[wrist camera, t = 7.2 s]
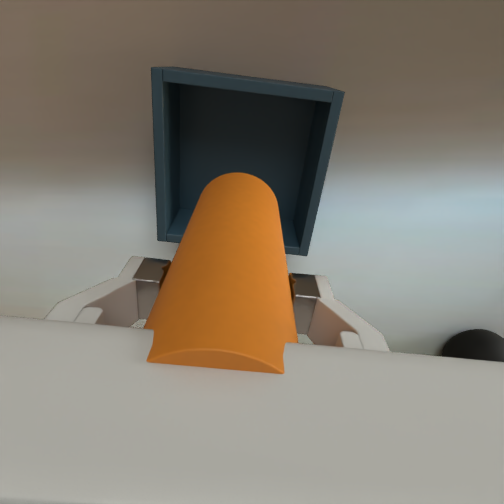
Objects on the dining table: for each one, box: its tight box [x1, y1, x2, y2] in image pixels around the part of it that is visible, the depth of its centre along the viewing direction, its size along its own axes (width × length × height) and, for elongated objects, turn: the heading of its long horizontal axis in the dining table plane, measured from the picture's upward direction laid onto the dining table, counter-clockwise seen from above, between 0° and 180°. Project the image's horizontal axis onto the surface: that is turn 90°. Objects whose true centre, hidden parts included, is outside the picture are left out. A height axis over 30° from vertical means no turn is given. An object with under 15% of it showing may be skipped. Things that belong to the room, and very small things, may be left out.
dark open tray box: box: [151, 67, 345, 256], centre depth 29 cm, size 14×14×7 cm
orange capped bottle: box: [143, 172, 298, 374], centre depth 13 cm, size 5×5×15 cm
